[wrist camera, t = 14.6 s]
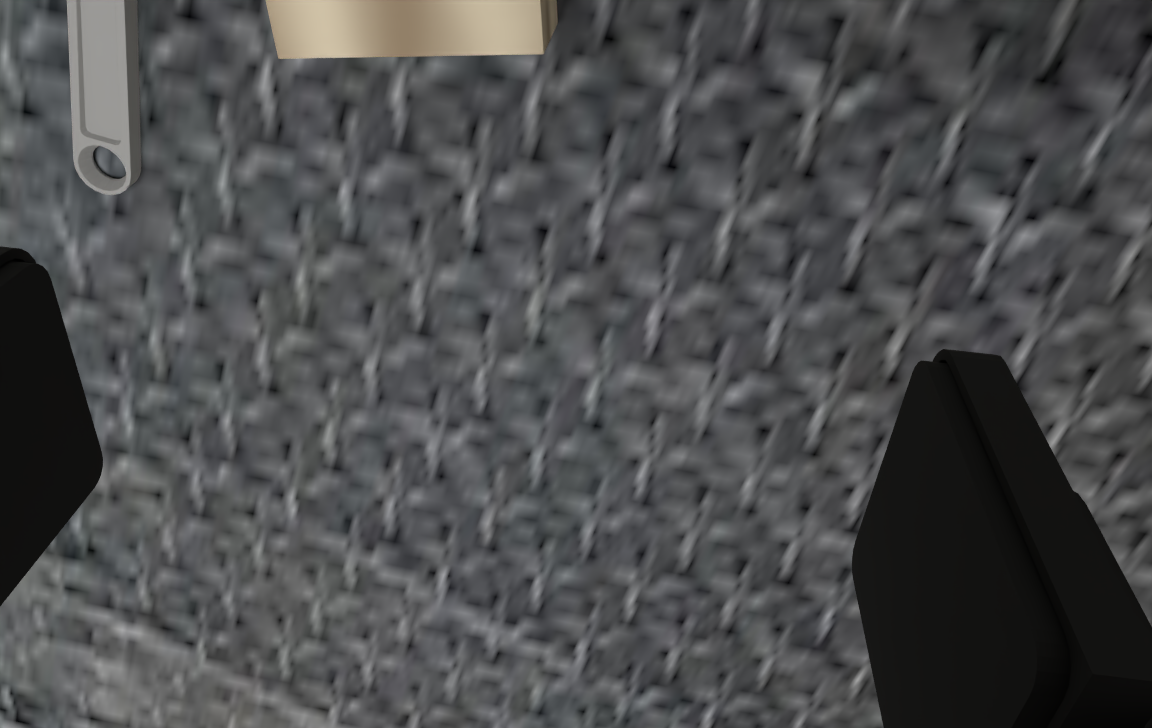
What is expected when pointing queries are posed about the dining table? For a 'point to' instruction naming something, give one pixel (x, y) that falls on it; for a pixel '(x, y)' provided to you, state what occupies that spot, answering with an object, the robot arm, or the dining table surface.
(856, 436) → the dining table surface
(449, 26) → the block
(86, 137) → the adjustable wrench
